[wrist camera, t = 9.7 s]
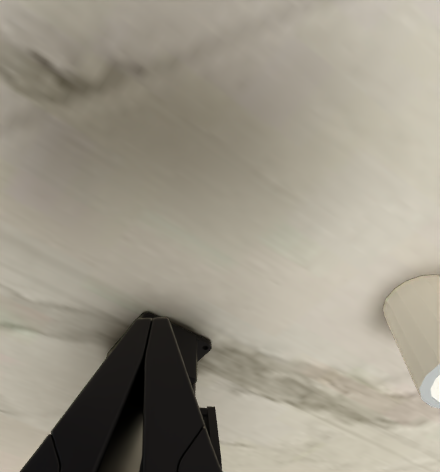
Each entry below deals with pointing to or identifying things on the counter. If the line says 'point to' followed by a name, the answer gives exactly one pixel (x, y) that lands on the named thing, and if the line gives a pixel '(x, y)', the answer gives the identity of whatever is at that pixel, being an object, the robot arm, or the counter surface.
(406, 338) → the white cup
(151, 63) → the counter surface
